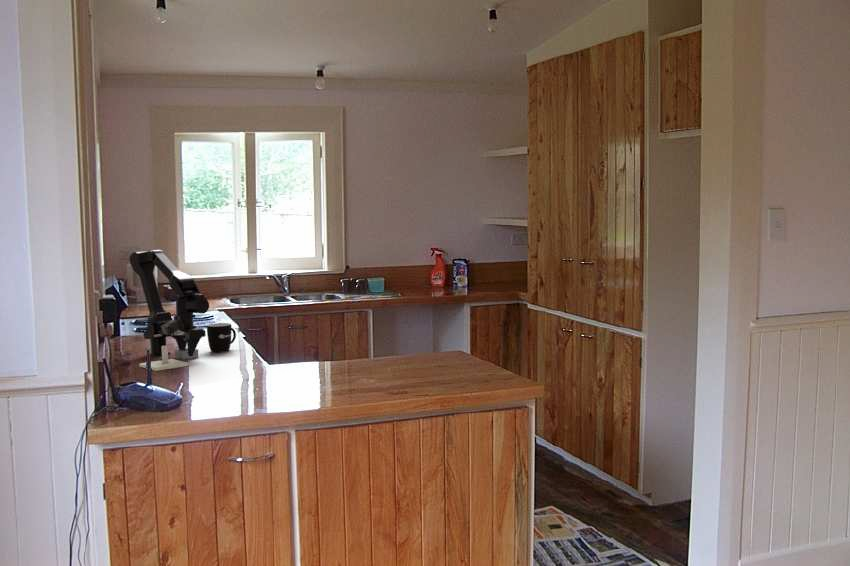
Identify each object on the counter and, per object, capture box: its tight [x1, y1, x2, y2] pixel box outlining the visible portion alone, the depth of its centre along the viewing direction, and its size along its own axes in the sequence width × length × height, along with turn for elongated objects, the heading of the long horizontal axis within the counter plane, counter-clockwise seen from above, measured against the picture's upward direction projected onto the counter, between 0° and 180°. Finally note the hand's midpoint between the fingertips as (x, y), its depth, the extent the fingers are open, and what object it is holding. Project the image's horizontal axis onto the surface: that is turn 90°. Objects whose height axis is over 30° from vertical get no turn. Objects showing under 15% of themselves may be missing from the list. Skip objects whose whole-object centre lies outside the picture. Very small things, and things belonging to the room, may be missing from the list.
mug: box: [206, 322, 237, 354], centre depth 309 cm, size 12×9×10 cm
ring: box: [174, 347, 199, 361], centre depth 295 cm, size 6×6×3 cm
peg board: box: [139, 345, 190, 372], centre depth 279 cm, size 12×12×7 cm
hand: (186, 355), depth 295 cm, fingers closed on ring, 6 cm apart
